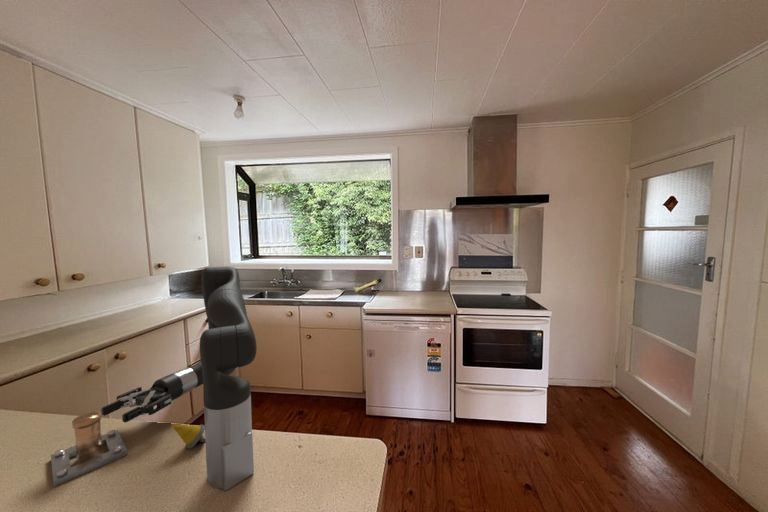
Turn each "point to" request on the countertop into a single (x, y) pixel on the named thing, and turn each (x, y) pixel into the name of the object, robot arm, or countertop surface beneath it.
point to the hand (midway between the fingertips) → (112, 415)
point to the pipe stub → (88, 436)
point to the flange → (66, 472)
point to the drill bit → (190, 434)
